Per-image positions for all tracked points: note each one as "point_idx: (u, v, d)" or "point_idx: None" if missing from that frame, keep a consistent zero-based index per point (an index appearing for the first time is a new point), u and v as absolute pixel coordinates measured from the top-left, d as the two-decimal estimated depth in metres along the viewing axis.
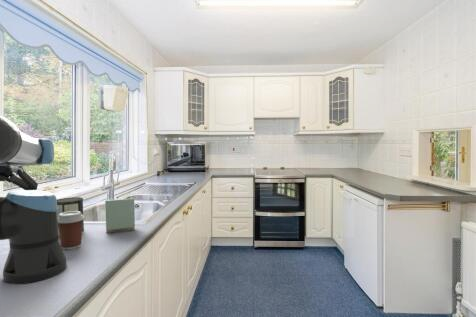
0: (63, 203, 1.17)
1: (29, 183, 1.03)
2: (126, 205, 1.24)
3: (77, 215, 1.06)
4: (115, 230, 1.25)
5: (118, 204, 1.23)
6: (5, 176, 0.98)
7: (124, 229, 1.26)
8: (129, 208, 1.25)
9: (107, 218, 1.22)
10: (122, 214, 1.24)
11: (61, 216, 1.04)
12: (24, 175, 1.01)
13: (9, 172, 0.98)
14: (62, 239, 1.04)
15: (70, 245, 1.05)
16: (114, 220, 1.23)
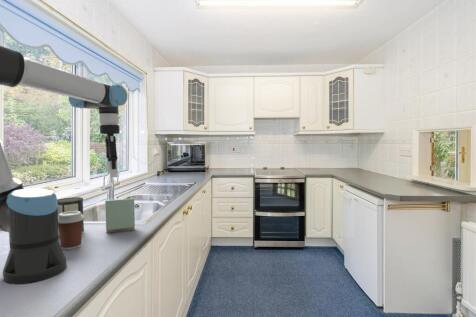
0: (63, 203, 1.17)
1: (109, 151, 1.18)
2: (126, 205, 1.24)
3: (77, 215, 1.06)
4: (115, 230, 1.25)
5: (118, 204, 1.23)
6: (107, 141, 1.23)
7: (124, 229, 1.26)
8: (129, 208, 1.25)
9: (107, 218, 1.22)
10: (122, 214, 1.24)
11: (61, 216, 1.04)
12: (110, 143, 1.19)
13: (108, 138, 1.22)
14: (62, 239, 1.04)
15: (70, 245, 1.05)
16: (114, 220, 1.23)
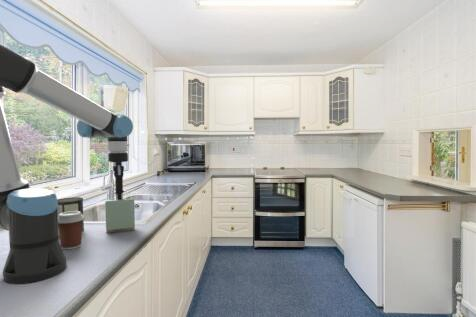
0: (63, 203, 1.17)
1: (116, 184, 1.21)
2: (126, 206, 1.24)
3: (77, 215, 1.06)
4: (115, 230, 1.25)
5: (118, 204, 1.23)
6: (114, 170, 1.23)
7: (124, 229, 1.26)
8: (129, 208, 1.24)
9: (107, 218, 1.21)
10: (122, 214, 1.24)
11: (61, 216, 1.04)
12: (118, 177, 1.20)
13: (116, 167, 1.21)
14: (62, 239, 1.04)
15: (70, 245, 1.05)
16: (114, 220, 1.23)
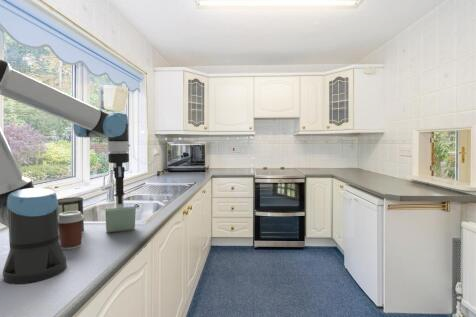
0: (63, 203, 1.17)
1: (116, 186, 1.16)
2: (127, 214, 1.20)
3: (77, 215, 1.06)
4: None
5: (119, 213, 1.18)
6: (115, 172, 1.17)
7: None
8: (130, 215, 1.21)
9: (107, 223, 1.19)
10: (123, 220, 1.21)
11: (61, 216, 1.04)
12: (118, 179, 1.14)
13: (116, 168, 1.15)
14: (62, 239, 1.04)
15: (70, 245, 1.05)
16: (114, 224, 1.21)
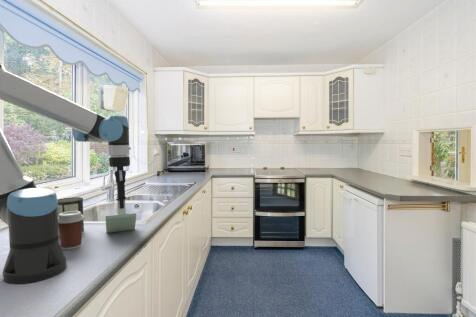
0: (63, 203, 1.17)
1: (118, 191, 1.14)
2: (127, 220, 1.18)
3: (77, 215, 1.06)
4: None
5: (119, 219, 1.17)
6: (116, 176, 1.15)
7: None
8: (130, 221, 1.20)
9: (107, 227, 1.19)
10: (123, 224, 1.20)
11: (61, 216, 1.04)
12: (119, 183, 1.13)
13: (117, 172, 1.14)
14: (62, 239, 1.04)
15: (70, 245, 1.05)
16: (114, 227, 1.21)
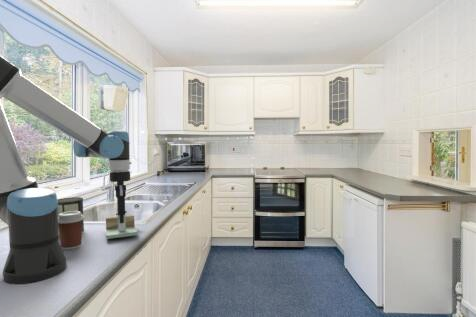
0: (63, 203, 1.17)
1: (118, 206, 1.14)
2: None
3: (77, 215, 1.06)
4: None
5: None
6: (116, 190, 1.15)
7: None
8: None
9: None
10: None
11: (61, 216, 1.04)
12: (119, 198, 1.13)
13: (117, 187, 1.14)
14: (62, 239, 1.04)
15: (70, 245, 1.05)
16: None
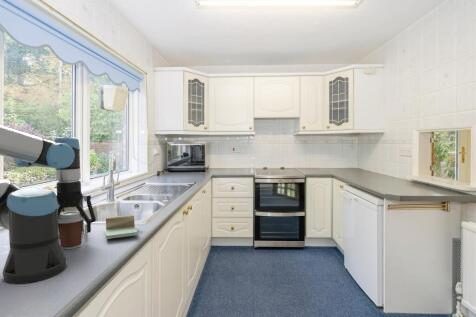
0: None
1: (91, 212, 1.09)
2: None
3: (77, 215, 1.06)
4: None
5: None
6: (76, 200, 1.06)
7: None
8: None
9: None
10: None
11: (61, 216, 1.04)
12: (90, 203, 1.09)
13: (80, 196, 1.07)
14: (62, 239, 1.04)
15: (70, 245, 1.05)
16: None
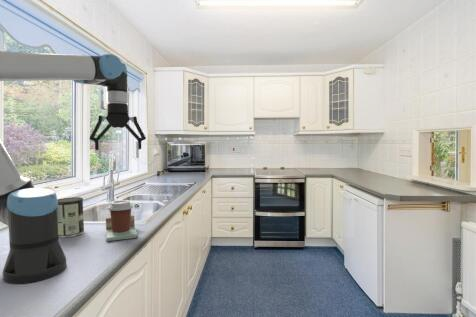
0: (63, 203, 1.17)
1: (141, 131, 1.19)
2: None
3: (127, 203, 1.18)
4: None
5: None
6: (124, 121, 1.17)
7: None
8: None
9: None
10: None
11: (114, 204, 1.16)
12: (137, 123, 1.19)
13: (127, 118, 1.17)
14: (114, 225, 1.16)
15: (122, 230, 1.17)
16: None
